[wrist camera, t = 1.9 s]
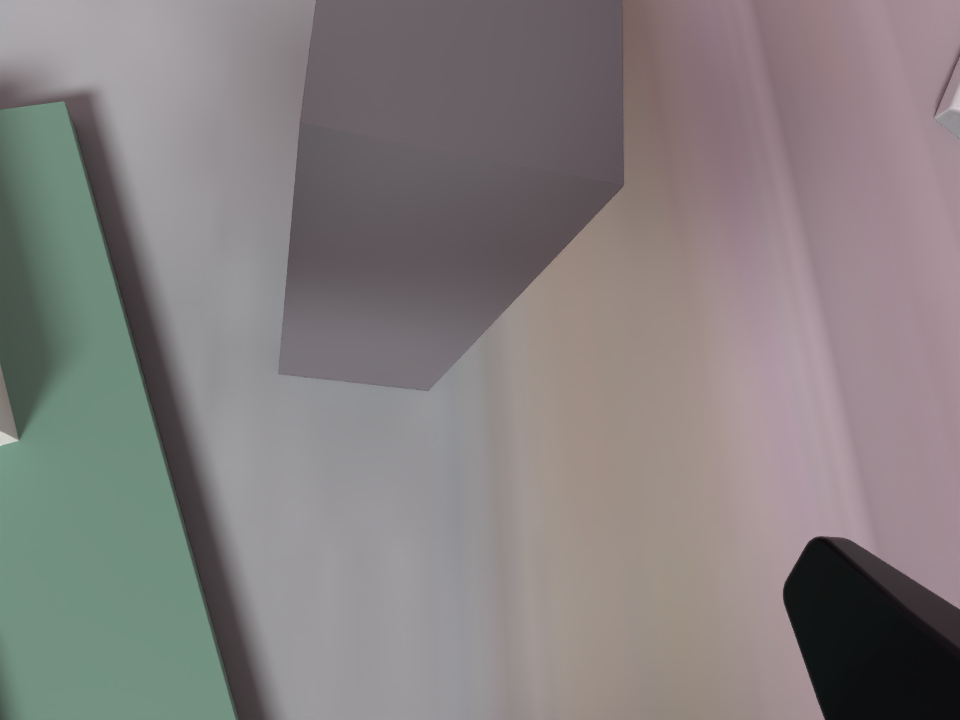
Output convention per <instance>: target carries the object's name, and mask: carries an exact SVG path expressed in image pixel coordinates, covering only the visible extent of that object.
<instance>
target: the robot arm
mask: <svg viewBox="0 0 960 720" xmlns="http://www.w3.org/2000/svg"><path fill="white" fill-rule="evenodd" d="M783 600H784V605H785V608H786V611H787V614H788V616H789V619H790V622H791V625H792V628H793V631H794V634H795V637H796V639H797V642H798V645H799V648H800V651H801V654H802V657H803V660H804V662H805V665H806V668H807V671H808V674H809V677H810V680H811V682H812V685H813V688H814V691H815V694H816V697H817V700H818V703H819V705H820V708H821V711H822V713H823V716H824V719H825V720H960V609H958V608H957V607H955V606H953V605H952V604H950V603H949V602H947V601H946V600H944V599H942V598H941V597H939V596H938V595H936V594H935V593H933V592H931V591H930V590H928V589H927V588H925V587H924V586H922V585H920V584H919V583H917V582H916V581H914V580H912V579H911V578H909V577H908V576H906V575H905V574H903V573H901V572H900V571H898V570H897V569H895V568H894V567H892V566H890V565H889V564H887V563H886V562H884V561H883V560H881V559H879V558H878V557H876V556H875V555H873V554H872V553H870V552H868V551H867V550H865V549H864V548H862V547H860V546H859V545H857V544H856V543H854V542H852V541H851V540H848V539H845V538H839V537H825V536H819V537H815V538H813V539H812V540H810V541H809V542H808V544H807V545H806V547H805V548H804V550H803V552H802V554H801V555H800V557H799V559H798V560H797V562H796V564H795V566H794V567H793V569H792V571H791V573H790V574H789V576H788V578H787V580H786V582H785V584H784V588H783Z"/></svg>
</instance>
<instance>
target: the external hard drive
mask: <svg viewBox="0 0 960 720" xmlns="http://www.w3.org/2000/svg"><path fill="white" fill-rule="evenodd" d="M934 119H935V120H936V121H937V122H938V123H940V124H941V125H942V126H944V127H945V128H946V129H948V130H949V131H950V132H952V133H953V134H954V135H955V136H957V137H958V138H959V139H960V57H959V60H958V62H957V64H956V67H955V69H954V71H953V74H952V76H951V79H950V81H949V84H948V86H947V88H946V91H945V93H944V95H943V98H942V100H941V103H940V105H939V107H938V110H937V112H936V115H935V116H934Z"/></svg>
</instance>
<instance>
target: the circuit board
mask: <svg viewBox="0 0 960 720" xmlns="http://www.w3.org/2000/svg"><path fill="white" fill-rule="evenodd" d="M0 720H239V718H238V714H237V711H236V707H235V703H234V700H233V696H232V693H231V689H230V685H229V682H228V678H227V675H226V671H225V667H224V664H223V660H222V657H221V653H220V649H219V646H218V642H217V639H216V635H215V631H214V628H213V624H212V621H211V617H210V613H209V610H208V606H207V603H206V599H205V595H204V592H203V588H202V585H201V581H200V577H199V574H198V570H197V567H196V563H195V559H194V556H193V552H192V549H191V545H190V541H189V538H188V534H187V531H186V527H185V523H184V520H183V516H182V513H181V509H180V505H179V502H178V498H177V495H176V491H175V487H174V484H173V480H172V477H171V473H170V469H169V466H168V462H167V459H166V455H165V451H164V448H163V444H162V441H161V437H160V433H159V430H158V426H157V423H156V419H155V415H154V412H153V408H152V405H151V401H150V397H149V394H148V390H147V387H146V383H145V379H144V376H143V372H142V369H141V365H140V361H139V358H138V354H137V351H136V347H135V343H134V340H133V336H132V333H131V329H130V325H129V322H128V318H127V315H126V311H125V307H124V304H123V300H122V297H121V293H120V289H119V286H118V282H117V279H116V275H115V271H114V268H113V264H112V261H111V257H110V253H109V250H108V246H107V243H106V239H105V235H104V232H103V228H102V225H101V221H100V217H99V214H98V210H97V207H96V203H95V199H94V196H93V192H92V189H91V185H90V181H89V178H88V174H87V171H86V167H85V163H84V160H83V156H82V153H81V149H80V145H79V142H78V138H77V135H76V131H75V127H74V124H73V121H72V118H71V116H70V113H69V111H68V109H67V106H66V104H65V102H64V101H61V102H54V103H46V104H39V105H31V106H24V107H16V108H9V109H1V110H0Z"/></svg>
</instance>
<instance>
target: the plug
mask: <svg viewBox="0 0 960 720" xmlns="http://www.w3.org/2000/svg"><path fill="white" fill-rule="evenodd" d="M623 186H624V152H623V29H622V0H316V5H315V13H314V20H313V28H312V35H311V43H310V50H309V58H308V66H307V73H306V81H305V88H304V96H303V103H302V111H301V118H300V128H299V140H298V151H297V163H296V174H295V186H294V197H293V209H292V221H291V232H290V244H289V255H288V267H287V279H286V290H285V302H284V313H283V325H282V337H281V348H280V360H279V371H278V374H284V375H293V376H302V377H311V378H320V379H328V380H337V381H346V382H355V383H364V384H373V385H382V386H391V387H400V388H409V389H417V390H426V391H429V390H430V389H431V388H432V386H433V385H434V384H435V383H436V382H437V381H438V380H439V379H440V378H441V377H442V376H443V375H444V374H445V373H446V372H447V371H448V370H449V369H450V368H451V367H452V365H453V364H454V363H455V362H456V361H457V360H458V359H459V358H460V357H461V356H462V355H463V354H464V353H465V352H466V351H467V350H468V349H469V348H470V347H471V346H472V344H473V343H474V342H475V341H476V340H477V339H478V338H479V337H480V336H481V335H482V334H483V333H484V332H485V331H486V330H487V329H488V328H489V327H490V326H491V325H492V323H493V322H494V321H495V320H496V319H497V318H498V317H499V316H500V315H501V314H502V313H503V312H504V311H505V310H506V309H507V308H508V307H509V306H510V305H511V304H512V302H513V301H514V300H515V299H516V298H517V297H518V296H519V295H520V294H521V293H522V292H523V291H524V290H525V289H526V288H527V287H528V286H529V285H530V284H531V283H532V281H533V280H534V279H535V278H536V277H537V276H538V275H539V274H540V273H541V272H542V271H543V270H544V269H545V268H546V267H547V266H548V265H549V264H550V263H551V262H552V260H553V259H554V258H555V257H556V256H557V255H558V254H559V253H560V252H561V251H562V250H563V249H564V248H565V247H566V246H567V245H568V244H569V243H570V242H571V241H572V239H573V238H574V237H575V236H576V235H577V234H578V233H579V232H580V231H581V230H582V229H583V228H584V227H585V226H586V225H587V224H588V223H589V222H590V221H591V220H592V218H593V217H594V216H595V215H596V214H597V213H598V212H599V211H600V210H601V209H602V208H603V207H604V206H605V205H606V204H607V203H608V202H609V201H610V200H611V199H612V197H613V196H614V195H615V194H616V193H617V192H618V191H619V190H620V189H621V188H622V187H623Z"/></svg>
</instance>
